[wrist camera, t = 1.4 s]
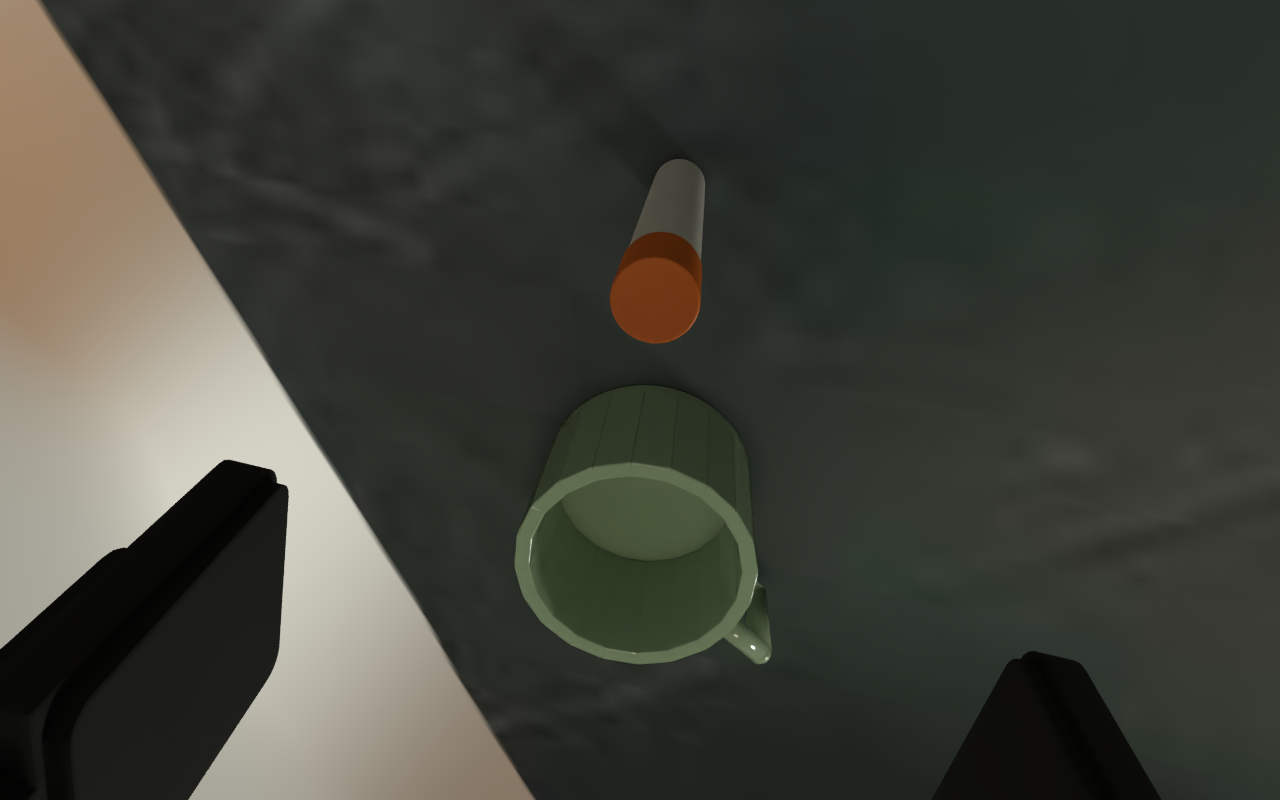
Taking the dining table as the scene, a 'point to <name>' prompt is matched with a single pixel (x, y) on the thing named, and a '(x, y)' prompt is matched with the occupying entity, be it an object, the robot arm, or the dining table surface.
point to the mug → (645, 532)
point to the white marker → (663, 258)
